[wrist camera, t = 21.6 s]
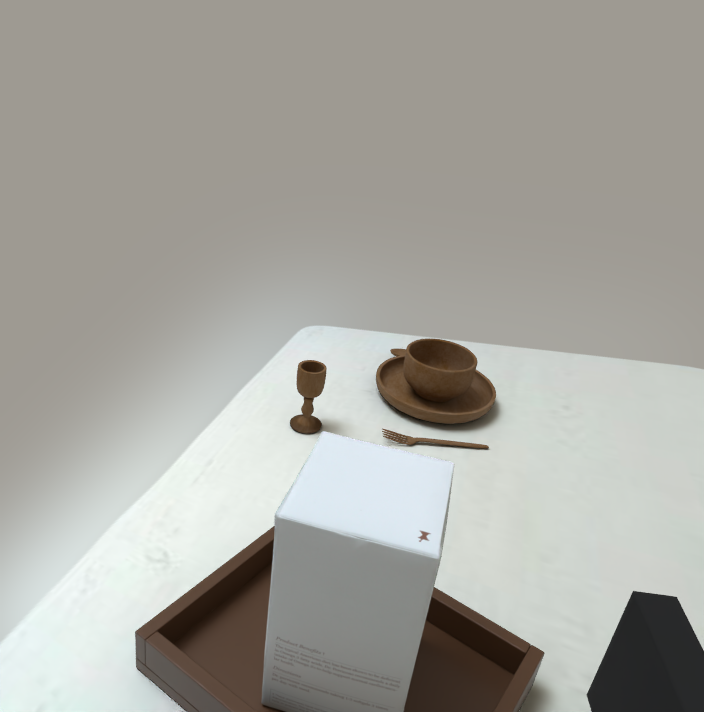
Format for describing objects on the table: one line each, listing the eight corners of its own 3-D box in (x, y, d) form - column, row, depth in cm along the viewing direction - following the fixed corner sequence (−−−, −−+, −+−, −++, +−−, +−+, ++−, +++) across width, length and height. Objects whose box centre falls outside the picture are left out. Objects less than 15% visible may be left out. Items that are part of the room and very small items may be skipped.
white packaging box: (418, 634, 39) (461, 460, 34) (394, 751, 33) (443, 561, 27) (300, 598, 40) (322, 425, 35) (254, 705, 34) (272, 513, 28)
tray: (135, 667, 36) (134, 631, 35) (295, 537, 46) (299, 506, 45) (414, 908, 28) (426, 872, 26) (532, 685, 38) (545, 652, 37)
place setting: (513, 454, 59) (530, 397, 56) (288, 436, 57) (295, 376, 54) (473, 362, 75) (484, 314, 72) (295, 345, 73) (300, 295, 70)
